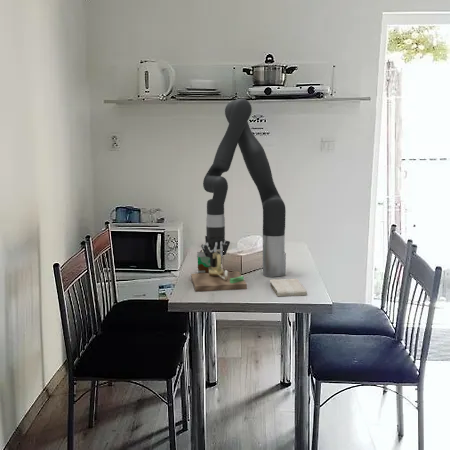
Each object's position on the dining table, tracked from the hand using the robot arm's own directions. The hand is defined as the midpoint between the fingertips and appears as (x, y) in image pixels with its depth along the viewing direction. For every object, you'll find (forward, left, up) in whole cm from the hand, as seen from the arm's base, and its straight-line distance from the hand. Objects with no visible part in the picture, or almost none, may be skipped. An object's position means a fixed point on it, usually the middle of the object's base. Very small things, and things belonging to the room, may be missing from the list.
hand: (215, 266), depth 251 cm
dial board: (0, +6, -6) cm, 8 cm away
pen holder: (-5, -43, -6) cm, 44 cm away
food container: (+2, -13, -6) cm, 14 cm away
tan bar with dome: (-1, +4, -3) cm, 5 cm away
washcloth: (-26, +19, -6) cm, 32 cm away
